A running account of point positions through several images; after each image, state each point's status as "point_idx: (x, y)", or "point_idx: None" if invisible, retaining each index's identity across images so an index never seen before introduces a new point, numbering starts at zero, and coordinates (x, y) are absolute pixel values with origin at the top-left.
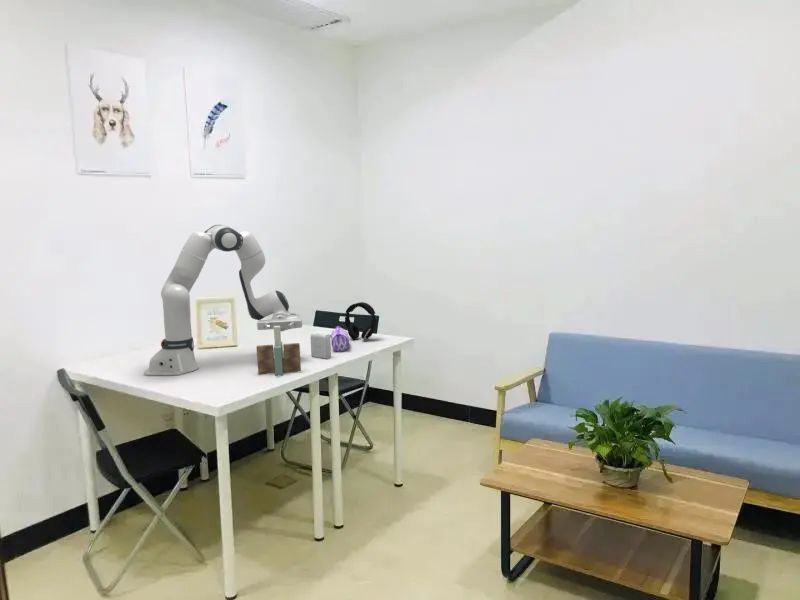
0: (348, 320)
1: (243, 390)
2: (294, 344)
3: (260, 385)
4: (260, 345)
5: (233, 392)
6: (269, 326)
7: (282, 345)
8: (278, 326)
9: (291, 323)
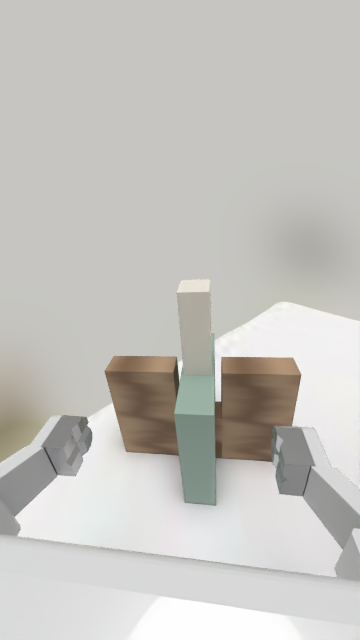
0: None
1: (271, 338)
2: (132, 356)
3: (242, 354)
4: (282, 372)
5: (287, 333)
6: (277, 428)
7: (176, 425)
8: (186, 285)
9: (22, 453)
